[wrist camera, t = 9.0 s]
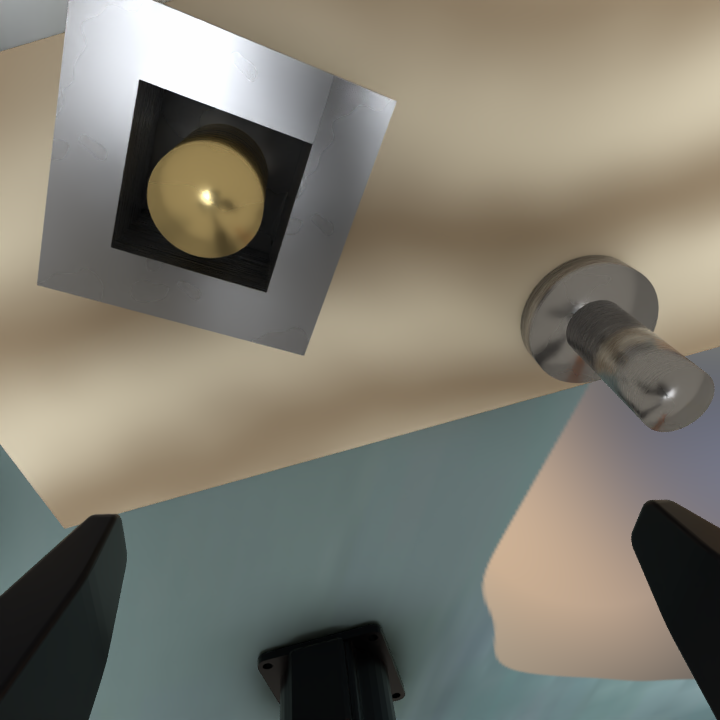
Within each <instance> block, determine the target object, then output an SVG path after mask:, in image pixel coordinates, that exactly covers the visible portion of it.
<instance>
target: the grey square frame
mask: <svg viewBox="0 0 720 720" xmlns="http://www.w3.org/2000/svg"><path fill="white" fill-rule="evenodd" d="M164 89H167V90H169V91H172V92H175V93H177V94H180V95H183V96H185V97H188V98H191V99H193V100H196V101H199V102H201V103H204V104H207V105H209V106H212V107H215V108H217V109H220V110H223V111H225V112H228V113H231V114H233V115H236V116H239V117H241V118H244V119H247V120H249V121H252V122H255V123H257V124H260V125H263V126H265V127H268V128H271V129H273V130H276V131H279V132H282V133H284V134H287V135H290V136H292V137H295V138H298V139H300V140H303V141H304V142H303V145H302V148H301V151H300V155H299V158H298V161H297V165H296V168H295V171H294V175H293V178H292V181H291V184H290V188H289V191H288V194H287V198H286V201H285V204H284V207H283V211H282V214H281V217H280V221H279V224H278V227H277V231H276V234H275V237H274V240H273V244H272V247H271V250H270V253H267V252H264V251H260V250H257V249H254V248H251V247H247V246H245V247H244V248H242V249H241V250H239V251H237V252H235V253H233V254H231V255H228V256H224V257H218V258H204V257H198V256H195V255H191V254H189V253H186V252H184V251H182V250H180V249H178V248H177V247H175V246H174V245H173V244H171V243H170V242H169V241H168V240H167V239H166V238H165V237H164V236H163V235H162V234H161V233H160V231H159V230H158V228H157V227H156V225H155V223H154V221H153V219H152V217H151V216H148V215H145V214H142V213H141V210H142V204H143V199H144V194H145V189H146V183H147V178H148V173H149V167H150V162H151V157H152V152H153V146H154V141H155V136H156V130H157V125H158V120H159V115H160V109H161V104H162V99H163V94H164ZM396 102H397V101H395V100H393V99H390V98H388V97H386V96H384V95H382V94H379V93H377V92H375V91H373V90H370V89H368V88H365V87H363V86H361V85H358V84H356V83H353V82H351V81H348V80H346V79H344V78H341V77H339V76H336V75H334V74H332V73H329V72H327V71H324V70H322V69H319V68H317V67H315V66H312V65H310V64H307V63H305V62H303V61H300V60H298V59H295V58H293V57H291V56H288V55H286V54H283V53H281V52H278V51H276V50H274V49H271V48H269V47H266V46H264V45H262V44H259V43H257V42H254V41H252V40H250V39H247V38H245V37H242V36H240V35H237V34H235V33H233V32H230V31H228V30H225V29H223V28H221V27H218V26H216V25H213V24H211V23H208V22H206V21H204V20H201V19H199V18H196V17H194V16H192V15H189V14H187V13H184V12H182V11H180V10H177V9H175V8H172V7H170V6H167V5H165V4H163V3H160V2H158V1H155V0H69V2H68V11H67V19H66V28H65V37H64V46H63V55H62V64H61V73H60V82H59V91H58V100H57V109H56V118H55V127H54V136H53V145H52V154H51V163H50V172H49V181H48V189H47V198H46V207H45V216H44V225H43V234H42V243H41V252H40V261H39V270H38V279H37V285H38V286H42V287H46V288H50V289H54V290H57V291H61V292H65V293H69V294H72V295H76V296H80V297H84V298H88V299H91V300H95V301H99V302H103V303H106V304H110V305H114V306H118V307H121V308H125V309H129V310H133V311H137V312H140V313H144V314H148V315H152V316H155V317H159V318H163V319H167V320H171V321H174V322H178V323H182V324H186V325H189V326H193V327H197V328H201V329H204V330H208V331H212V332H216V333H220V334H223V335H227V336H231V337H235V338H238V339H242V340H246V341H250V342H254V343H257V344H261V345H265V346H269V347H272V348H276V349H280V350H284V351H288V352H291V353H295V354H299V355H303V356H304V355H305V352H306V349H307V347H308V344H309V341H310V338H311V336H312V333H313V330H314V327H315V325H316V322H317V319H318V316H319V314H320V311H321V308H322V305H323V303H324V300H325V297H326V294H327V292H328V289H329V286H330V283H331V281H332V278H333V275H334V272H335V270H336V267H337V264H338V261H339V259H340V256H341V253H342V250H343V248H344V245H345V242H346V239H347V237H348V234H349V231H350V228H351V226H352V223H353V220H354V217H355V215H356V212H357V209H358V206H359V204H360V201H361V198H362V195H363V193H364V190H365V187H366V184H367V182H368V179H369V176H370V173H371V171H372V168H373V165H374V162H375V160H376V157H377V154H378V151H379V149H380V146H381V143H382V140H383V138H384V135H385V132H386V129H387V127H388V124H389V121H390V118H391V116H392V113H393V110H394V107H395V105H396Z"/></svg>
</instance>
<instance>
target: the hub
mask: <svg viewBox="0 0 720 720" xmlns="http://www.w3.org/2000/svg"><path fill="white" fill-rule="evenodd" d="M303 142H304V141H303V140H300V139H298V138H295V137H292V136H290V135H287V134H284V133H282V132H279V131H276V130H273V129H271V128H268V127H265V126H263V125H260V124H257V123H255V122H252V121H249V120H247V119H244V118H241V117H239V116H236V115H233V114H231V113H228V112H225V111H223V110H220V109H217V108H215V107H212V106H209V105H207V104H204V103H201V102H199V101H196V100H193V99H191V98H188V97H185V96H183V95H180V94H177V93H175V92H172V91H169V90H167V89H164V94H163V99H162V104H161V109H160V115H159V120H158V125H157V130H156V136H155V141H154V146H153V152H152V157H151V162H150V167H149V173H148V178H147V183H146V189H145V194H144V199H143V204H142V210H141V213H142V214H145V215H148V216H151V217H152V219H153V221H154V223H155V225H156V227H157V228H158V230H159V231H160V233H161V234H162V235H163V236H164V237H165V238H166V239H167V240H168V241H169V242H170V243H171V244H173V245H174V246H175V247H177V248H178V249H180V250H182V251H184V252H186V253H189V254H191V255H195V256H198V257H204V258H218V257H224V256H228V255H231V254H233V253H235V252H237V251H239V250H241V249H242V248H244V247H245V246H247V247H251V248H254V249H257V250H260V251H264V252H267V253H270V250H271V247H272V244H273V240H274V237H275V234H276V231H277V227H278V224H279V221H280V217H281V214H282V211H283V207H284V204H285V201H286V198H287V194H288V191H289V188H290V184H291V181H292V178H293V175H294V171H295V168H296V165H297V161H298V158H299V155H300V151H301V148H302V145H303Z"/></svg>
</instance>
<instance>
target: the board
mask: <svg viewBox="0 0 720 720" xmlns="http://www.w3.org/2000/svg"><path fill="white" fill-rule="evenodd" d="M163 4H165V5H167V6H170V7H172V8H175V9H177V10H180V11H182V12H184V13H187V14H189V15H192V16H194V17H196V18H199V19H201V20H204V21H206V22H208V23H211V24H213V25H216V26H218V27H221V28H223V29H225V30H228V31H230V32H233V33H235V34H237V35H240V36H242V37H245V38H247V39H250V40H252V41H254V42H257V43H259V44H262V45H264V46H266V47H269V48H271V49H274V50H276V51H278V52H281V53H283V54H286V55H288V56H291V57H293V58H295V59H298V60H300V61H303V62H305V63H307V64H310V65H312V66H315V67H317V68H319V69H322V70H324V71H327V72H329V73H332V74H334V75H336V76H339V77H341V78H344V79H346V80H348V81H351V82H353V83H356V84H358V85H361V86H363V87H365V88H368V89H370V90H373V91H375V92H377V93H379V94H382V95H384V96H386V97H388V98H390V99H393V100H395V101H397V102H396V105H395V107H394V110H393V113H392V116H391V118H390V121H389V124H388V127H387V129H386V132H385V135H384V138H383V140H382V143H381V146H380V149H379V151H378V154H377V157H376V160H375V162H374V165H373V168H372V171H371V173H370V176H369V179H368V182H367V184H366V187H365V190H364V193H363V195H362V198H361V201H360V204H359V206H358V209H357V212H356V215H355V217H354V220H353V223H352V226H351V228H350V231H349V234H348V237H347V239H346V242H345V245H344V248H343V250H342V253H341V256H340V259H339V261H338V264H337V267H336V270H335V272H334V275H333V278H332V281H331V283H330V286H329V289H328V292H327V294H326V297H325V300H324V303H323V305H322V308H321V311H320V314H319V316H318V319H317V322H316V325H315V327H314V330H313V333H312V336H311V338H310V341H309V344H308V347H307V349H306V352H305V355H304V356H303V355H299V354H295V353H291V352H288V351H284V350H280V349H276V348H272V347H269V346H265V345H261V344H257V343H254V342H250V341H246V340H242V339H238V338H235V337H231V336H227V335H223V334H220V333H216V332H212V331H208V330H204V329H201V328H197V327H193V326H189V325H186V324H182V323H178V322H174V321H171V320H167V319H163V318H159V317H155V316H152V315H148V314H144V313H140V312H137V311H133V310H129V309H125V308H121V307H118V306H114V305H110V304H106V303H103V302H99V301H95V300H91V299H88V298H84V297H80V296H76V295H72V294H69V293H65V292H61V291H57V290H54V289H50V288H46V287H42V286H38V285H37V279H38V270H39V261H40V252H41V243H42V234H43V225H44V216H45V207H46V198H47V189H48V181H49V172H50V163H51V154H52V145H53V136H54V127H55V118H56V109H57V100H58V91H59V82H60V73H61V64H62V55H63V46H64V37H65V32H64V33H61V34H58V35H54V36H51V37H48V38H44V39H41V40H38V41H34V42H31V43H28V44H24V45H21V46H18V47H14V48H11V49H7V50H4V51H1V52H0V444H1V446H2V447H3V448H4V450H5V451H6V452H7V453H8V455H9V456H10V457H11V459H12V460H13V461H14V463H15V464H16V465H17V467H18V468H19V469H20V471H21V472H22V473H23V475H24V476H25V477H26V479H27V480H28V481H29V482H30V484H31V485H32V486H33V488H34V489H35V490H36V492H37V493H38V494H39V496H40V497H41V498H42V500H43V501H44V502H45V504H46V505H47V506H48V508H49V509H50V510H51V511H52V513H53V514H54V515H55V517H56V518H57V519H58V521H59V522H60V523H61V525H62V526H63V527H64V529H65V528H68V527H72V526H76V525H79V524H81V523H82V522H83V521H84V520H86V519H87V518H88V517H89V516H91V515H94V514H119V513H122V512H126V511H130V510H133V509H137V508H140V507H144V506H148V505H151V504H155V503H158V502H162V501H166V500H169V499H173V498H176V497H180V496H184V495H187V494H191V493H194V492H198V491H202V490H205V489H209V488H212V487H216V486H219V485H223V484H227V483H230V482H234V481H237V480H241V479H245V478H248V477H252V476H255V475H259V474H263V473H266V472H270V471H273V470H277V469H281V468H284V467H288V466H291V465H295V464H299V463H302V462H306V461H309V460H313V459H317V458H320V457H324V456H327V455H331V454H335V453H338V452H342V451H345V450H349V449H353V448H356V447H360V446H363V445H367V444H371V443H374V442H378V441H381V440H385V439H389V438H392V437H396V436H399V435H403V434H407V433H410V432H414V431H417V430H421V429H425V428H428V427H432V426H435V425H439V424H443V423H446V422H450V421H453V420H457V419H461V418H464V417H468V416H471V415H475V414H479V413H482V412H486V411H489V410H493V409H497V408H500V407H504V406H507V405H511V404H515V403H518V402H522V401H525V400H529V399H533V398H536V397H540V396H543V395H547V394H551V393H554V392H558V391H561V390H565V389H569V388H572V387H576V386H579V385H583V384H587V383H569V382H564V381H560V380H558V379H555V378H553V377H551V376H550V375H548V374H547V373H546V372H545V371H544V370H543V369H542V368H541V367H540V366H539V365H538V363H537V362H536V361H535V360H534V358H533V357H532V356H531V355H530V353H529V352H528V351H527V349H526V347H525V346H524V343H523V340H522V337H521V329H520V324H521V316H522V312H523V308H524V306H525V303H526V301H527V299H528V297H529V295H530V294H531V292H532V291H533V289H534V288H535V286H536V285H537V284H538V283H539V282H540V281H541V280H542V279H543V278H544V277H545V276H546V275H547V274H548V273H549V272H551V271H552V270H553V269H555V268H556V267H558V266H560V265H561V264H563V263H565V262H567V261H569V260H572V259H575V258H578V257H582V256H587V255H605V256H611V257H614V258H616V259H619V260H621V261H622V262H624V263H626V264H627V265H629V266H631V267H632V268H634V269H635V270H637V271H639V272H640V273H641V274H643V275H644V276H645V277H646V278H647V279H648V280H649V281H650V282H651V284H652V285H653V287H654V289H655V291H656V294H657V298H658V304H659V312H658V319H657V323H656V327H655V329H654V332H653V333H655V334H656V335H657V336H659V337H660V338H661V339H663V340H664V341H665V342H667V343H668V344H669V345H670V346H672V347H673V348H674V349H676V350H677V351H678V352H680V353H681V354H682V355H683V356H687V355H691V354H694V353H698V352H702V351H705V350H709V349H712V348H716V347H719V346H720V0H172V1H168V2H165V3H163ZM600 380H601V379H600ZM588 383H590V382H588Z"/></svg>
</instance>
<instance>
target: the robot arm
mask: <svg viewBox="0 0 720 720" xmlns="http://www.w3.org/2000/svg"><path fill="white" fill-rule="evenodd" d="M631 540H632V546H633V549H634V551H635V554H636V556H637V558H638V560H639V563H640V565H641V568H642V570H643V572H644V575H645V577H646V579H647V581H648V584H649V586H650V589H651V591H652V593H653V596H654V598H655V600H656V602H657V605H658V607H659V610H660V612H661V614H662V617H663V619H664V621H665V623H666V625H667V628H668V629H669V631H670V633H671V635H672V637H673V639H674V641H675V643H676V645H677V647H678V649H679V650H680V652H681V654H682V656H683V658H684V660H685V662H686V663H687V665H688V667H689V669H690V671H691V673H692V675H693V676H694V678H695V680H696V682H697V684H698V686H699V688H700V689H701V691H702V693H703V695H704V697H705V699H706V700H707V702H708V704H709V706H710V708H711V710H712V712H713V713H714V715H715V717H716V719H717V720H720V528H719V527H717V526H715V525H713V524H711V523H710V522H708V521H706V520H705V519H703V518H701V517H700V516H698V515H696V514H694V513H692V512H691V511H689V510H687V509H686V508H684V507H682V506H680V505H679V504H677V503H675V502H673V501H670V500H650V501H647V502H646V503H645V504H644V505H643V507H642V510H641V512H640V514H639V517H638V519H637V522H636V524H635V526H634V529H633V531H632V536H631ZM126 562H127V550H126V544H125V538H124V532H123V526H122V520H121V518H120V516H119V515H117V514H94V515H91V516H89V517H88V518H87V519H86V520H84V521H83V522H82V523H81V524H80V525H79V526H78V527H77V528H75V529H74V530H73V531H72V532H71V533H70V534H69V535H68V536H67V537H65V538H64V539H63V540H62V541H61V542H60V543H59V544H58V545H57V546H55V547H54V548H53V549H52V550H51V551H50V552H49V553H48V554H47V555H45V556H44V557H43V558H42V559H41V560H40V561H39V562H38V563H37V564H35V565H34V566H33V567H32V568H31V569H30V570H29V571H28V572H27V573H25V574H24V575H23V576H22V577H21V578H20V579H19V580H18V581H17V582H15V583H14V584H13V585H12V586H11V587H10V588H9V589H8V590H6V591H5V592H4V593H3V594H2V595H1V596H0V720H89V717H90V714H91V710H92V707H93V704H94V701H95V698H96V695H97V692H98V688H99V685H100V682H101V679H102V676H103V672H104V669H105V665H106V662H107V657H108V652H109V648H110V643H111V638H112V633H113V628H114V623H115V618H116V613H117V608H118V603H119V598H120V593H121V588H122V583H123V578H124V573H125V568H126ZM258 669H259V671H260V673H261V674H262V676H263V678H264V679H265V681H266V682H267V684H268V686H269V687H270V689H271V691H272V692H273V694H274V696H275V697H276V699H277V700H278V702H279V704H280V720H396V717H395V711H394V705H393V702H394V701H397V700H400V699H402V698H403V697H404V696H405V691H404V686H403V683H402V681H401V678H400V675H399V673H398V670H397V668H396V665H395V662H394V660H393V657H392V655H391V652H390V649H389V647H388V644H387V642H386V639H385V636H384V634H383V631H382V629H381V627H380V626H378V625H375V624H372V625H367V626H363V627H360V628H356V629H352V630H349V631H345V632H341V633H338V634H334V635H330V636H327V637H323V638H319V639H315V640H312V641H308V642H304V643H301V644H297V645H293V646H290V647H286V648H282V649H278V650H275V651H271V652H267V653H264V654H262V655H260V656H259V658H258Z"/></svg>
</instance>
